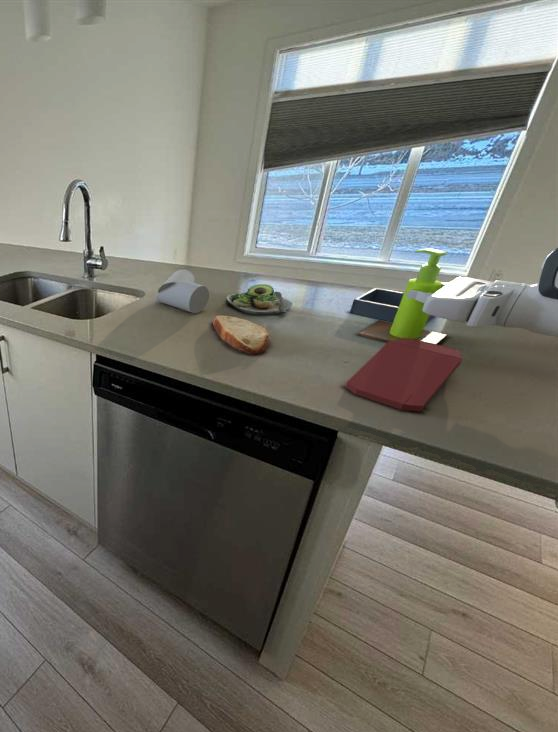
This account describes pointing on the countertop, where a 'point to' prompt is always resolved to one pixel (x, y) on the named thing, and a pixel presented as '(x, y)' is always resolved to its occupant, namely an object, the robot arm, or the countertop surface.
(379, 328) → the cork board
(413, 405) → the maroon flat slab
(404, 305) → the soap dispenser
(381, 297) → the dark blue tray
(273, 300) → the salad plate
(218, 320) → the bread slice
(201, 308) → the elbow connector
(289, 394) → the countertop surface
